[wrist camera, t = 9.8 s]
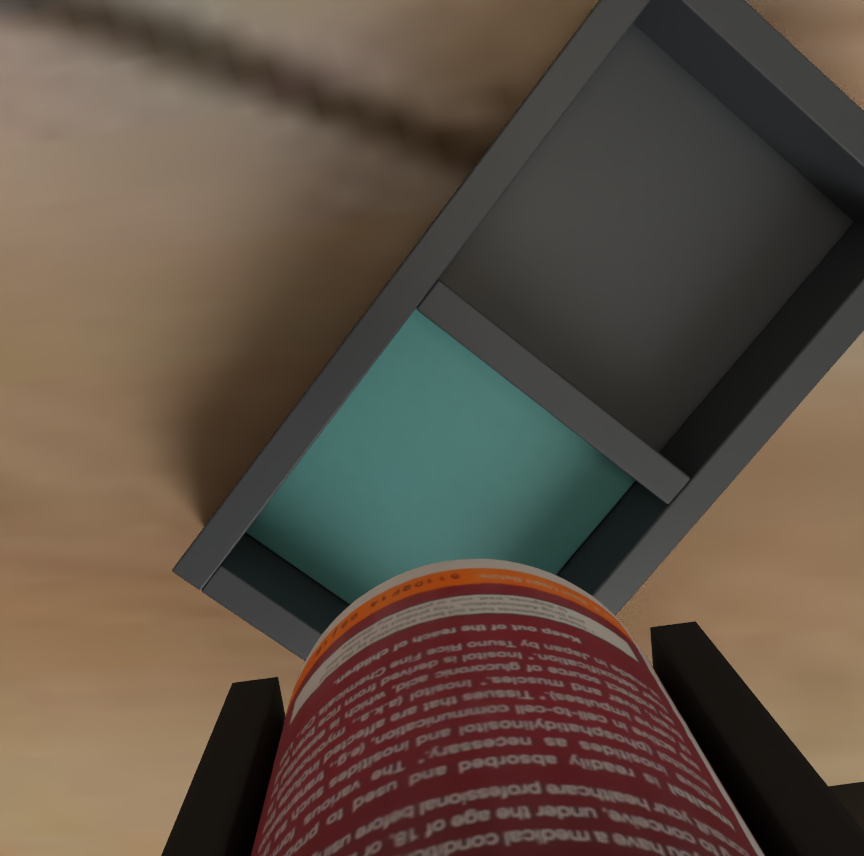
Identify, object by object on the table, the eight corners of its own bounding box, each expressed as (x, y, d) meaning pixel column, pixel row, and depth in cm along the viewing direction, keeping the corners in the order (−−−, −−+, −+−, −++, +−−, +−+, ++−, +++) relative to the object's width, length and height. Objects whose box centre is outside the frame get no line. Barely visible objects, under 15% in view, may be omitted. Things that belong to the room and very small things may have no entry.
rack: (202, 528, 26) (170, 571, 22) (619, -27, 22) (659, -81, 19) (467, 710, 27) (476, 776, 24) (887, 216, 24) (970, 209, 21)
